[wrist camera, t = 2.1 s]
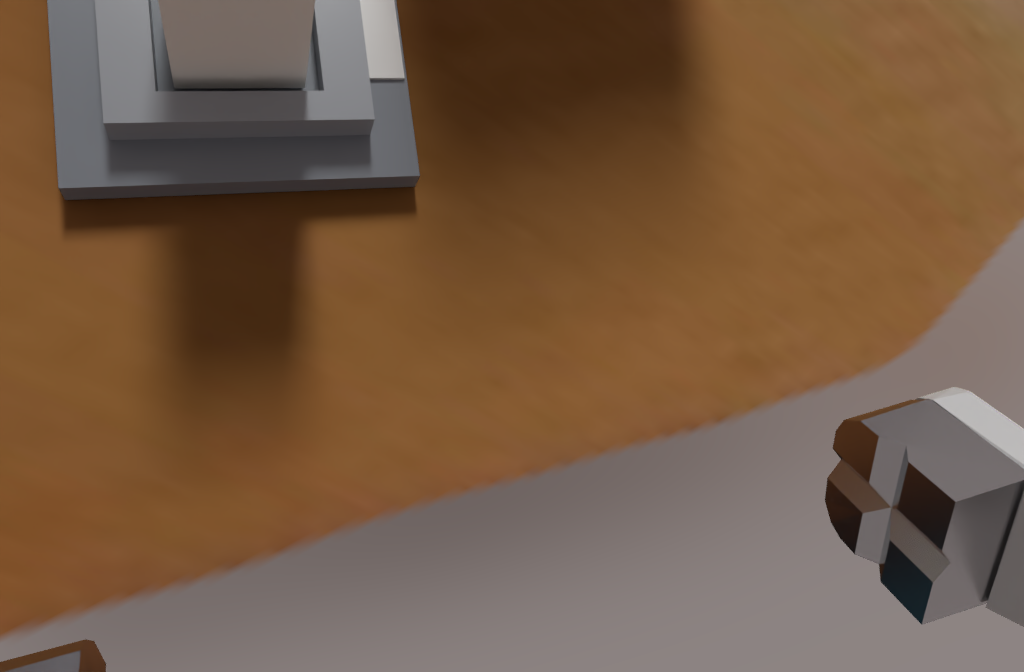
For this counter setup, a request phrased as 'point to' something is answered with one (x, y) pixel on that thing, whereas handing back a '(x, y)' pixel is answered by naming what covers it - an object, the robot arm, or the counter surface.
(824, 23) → the counter surface
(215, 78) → the white rectangular block
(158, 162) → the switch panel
